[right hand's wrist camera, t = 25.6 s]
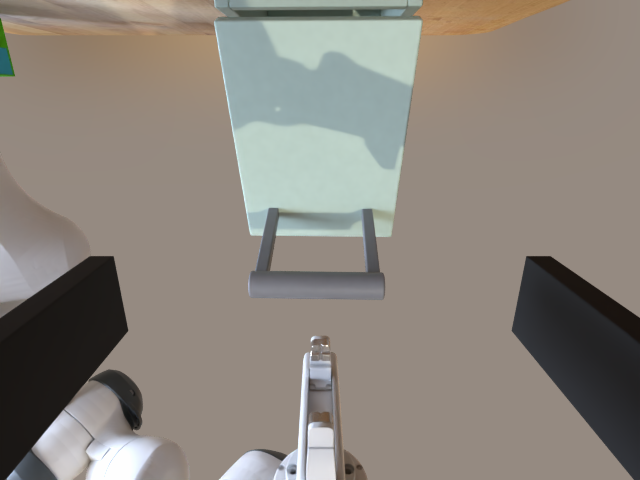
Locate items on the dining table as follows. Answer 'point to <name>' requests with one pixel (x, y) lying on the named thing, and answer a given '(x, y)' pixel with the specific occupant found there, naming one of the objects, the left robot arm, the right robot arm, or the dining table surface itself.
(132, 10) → the dining table surface
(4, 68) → the toy car
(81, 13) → the dining table surface
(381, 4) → the chest
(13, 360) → the right robot arm
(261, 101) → the lid
